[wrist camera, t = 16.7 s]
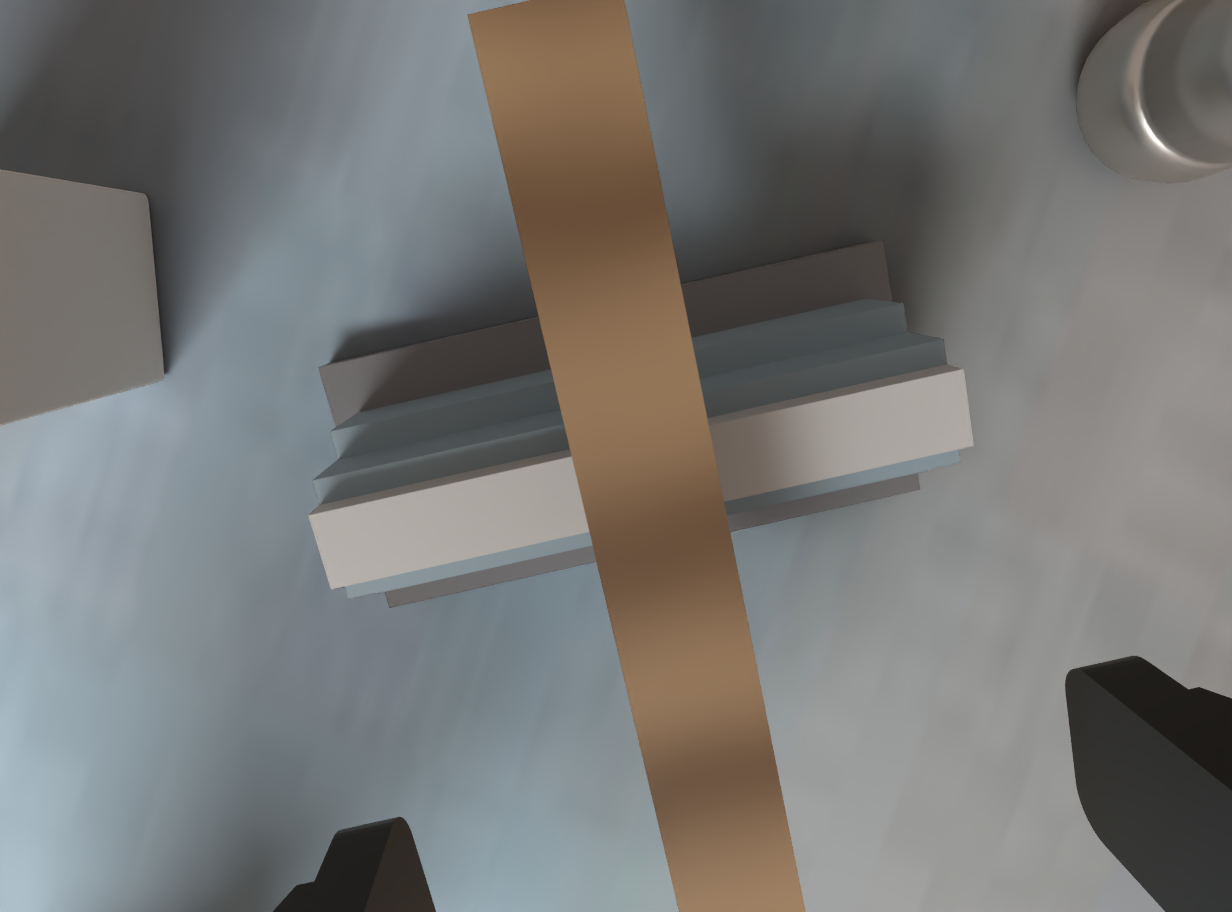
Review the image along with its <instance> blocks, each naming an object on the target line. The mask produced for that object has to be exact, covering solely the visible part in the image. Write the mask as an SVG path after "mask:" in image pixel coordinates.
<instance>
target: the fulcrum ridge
mask: <svg viewBox="0 0 1232 912" xmlns="http://www.w3.org/2000/svg"><path fill="white" fill-rule="evenodd" d="M681 288H682V293H683V298H684V303H685V308H686V313H687V318H688V324H689V329H690V334H691V339H692V344H693V349H694V354H695V359H696V364H697V369H698V374H699V379H700V384H701V389H702V394H703V399H704V404H705V409H706V414H707V419H708V424H709V429H710V434H711V439H712V444H713V449H714V454H715V459H716V464H717V469H718V474H719V479H720V485H721V490H722V495H723V500H724V505H725V510H726V515H727V520H728V525H729V530H730V532H732V531H736V530H741V529H745V528H750V527H754V526H759V525H763V524H768V523H772V522H777V521H781V520H786V519H790V518H795V517H799V516H804V515H808V514H813V513H817V512H822V511H826V510H831V509H835V508H839V507H844V506H848V505H853V504H857V503H862V502H866V501H871V500H875V499H880V498H884V497H889V496H893V495H898V494H902V493H907V492H911V491H916V490H920V486H919V479H918V473H919V472H924V471H928V469H933V468H937V467H942V466H946V465H951V464H955V463H960V457H959V450H958V449H963V448H967V447H971V446H974V444H973V437H972V429H971V422H970V414H969V406H968V399H967V391H966V384H965V376H964V369H962V368H958V367H955V366H951V365H947V361H946V354H945V346H944V339H940V338H935V337H930V336H925V335H920V334H915V333H910V332H908V330H907V323H906V316H905V309H904V303H899V302H892V295H891V288H890V282H889V275H888V268H887V261H886V254H885V248H884V241H872V242H867V243H862V244H858V245H853V246H849V247H844V248H840V249H835V250H831V251H827V252H822V253H818V254H813V255H809V256H804V257H800V258H795V259H791V260H786V261H782V262H778V263H773V264H769V265H764V266H760V267H755V268H751V269H746V270H742V271H737V272H733V273H729V274H724V275H720V276H715V277H711V278H706V279H702V280H697V281H693V282H688V283H684V284H681ZM318 368H319V371H320V375H321V378H322V382H323V385H324V388H325V392H326V395H327V399H328V402H329V405H330V409H331V412H332V415H333V419H334V422H335V426H336V428H335V429H333V430H332V431H330V434H331V437H332V441H333V444H334V447H335V451H336V454H337V457H338V460H337V461H336V462H335V463H333V464H332V465H331V466H330V467H328V468H327V469H326V470H325V471H323V472H322V473H321V474H320V475H318V476H317V477H316V478H315V479H314V480H312V481H313V484H314V488H315V491H316V494H317V498H318V501H319V504H320V505H319V506H318V507H317V508H316V509H315V510H314V511H313V512H311V513H310V514H309V515H308V517H309V520H310V523H311V526H312V530H313V533H314V536H315V539H316V543H317V546H318V549H319V552H320V555H321V559H322V562H323V565H324V568H325V572H326V575H327V578H328V581H329V585H330V588H331V589H336V588H340V587H344V586H345V589H346V592H347V596H348V599H350V598H355V597H359V596H364V595H368V594H373V593H377V592H378V593H382V592H385V595H386V598H387V602H388V605H389V608H391V607H396V606H400V605H405V604H409V603H414V602H418V601H423V600H427V599H432V598H436V597H441V596H445V595H450V594H454V593H459V592H463V591H467V590H472V589H476V588H481V587H485V586H490V585H494V584H499V583H503V582H508V581H512V580H517V579H521V578H526V577H530V576H535V575H539V574H544V573H548V572H553V571H557V570H562V569H566V568H571V567H575V566H580V565H584V564H589V563H593V562H596V557H595V553H594V549H593V545H592V540H591V536H590V532H589V528H588V523H587V519H586V515H585V511H584V506H583V502H582V498H581V494H580V490H579V485H578V481H577V477H576V473H575V468H574V464H573V460H572V456H571V451H570V447H569V443H568V439H567V434H566V430H565V426H564V422H563V417H562V413H561V409H560V405H559V401H558V396H557V392H556V388H555V384H554V379H553V375H552V371H551V367H550V362H549V358H548V354H547V350H546V345H545V341H544V337H543V333H542V329H541V324H540V320H539V316H537V317H533V318H528V319H524V320H519V321H515V322H510V323H506V324H501V325H497V326H493V327H488V328H484V329H479V330H475V331H470V332H466V333H461V334H457V335H452V336H448V337H444V338H439V339H435V340H430V341H426V342H421V343H417V344H412V345H408V346H404V347H399V348H395V349H390V350H386V351H381V352H377V353H372V354H368V355H363V356H359V357H355V358H350V359H346V360H341V361H337V362H332V363H328V364H326V365H323V366H321V367H318Z"/></svg>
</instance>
